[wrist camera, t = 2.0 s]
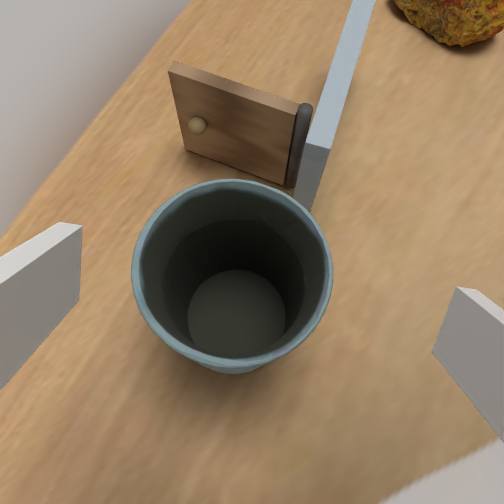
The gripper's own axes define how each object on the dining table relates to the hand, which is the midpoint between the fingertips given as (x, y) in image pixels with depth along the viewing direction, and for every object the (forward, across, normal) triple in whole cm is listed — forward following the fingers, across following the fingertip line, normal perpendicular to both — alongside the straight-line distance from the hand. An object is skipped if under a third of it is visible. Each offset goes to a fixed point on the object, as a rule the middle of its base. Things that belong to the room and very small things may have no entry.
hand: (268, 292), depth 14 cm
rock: (+37, +18, +19) cm, 45 cm away
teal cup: (+15, 0, -9) cm, 18 cm away
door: (+23, -1, +1) cm, 24 cm away
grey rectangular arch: (+26, +6, +4) cm, 27 cm away
